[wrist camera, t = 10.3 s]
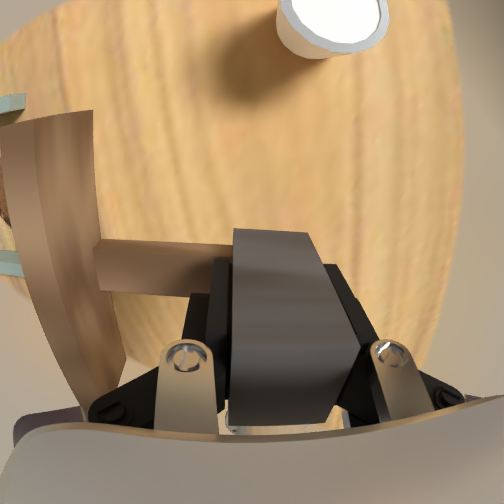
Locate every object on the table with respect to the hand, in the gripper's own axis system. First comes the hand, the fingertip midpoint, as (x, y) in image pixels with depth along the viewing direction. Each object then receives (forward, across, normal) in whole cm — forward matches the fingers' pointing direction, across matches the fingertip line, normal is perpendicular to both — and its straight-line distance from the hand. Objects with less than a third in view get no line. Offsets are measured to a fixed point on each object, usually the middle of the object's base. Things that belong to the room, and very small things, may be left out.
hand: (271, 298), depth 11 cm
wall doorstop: (+2, +4, 0) cm, 4 cm away
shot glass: (+15, -4, -14) cm, 21 cm away
